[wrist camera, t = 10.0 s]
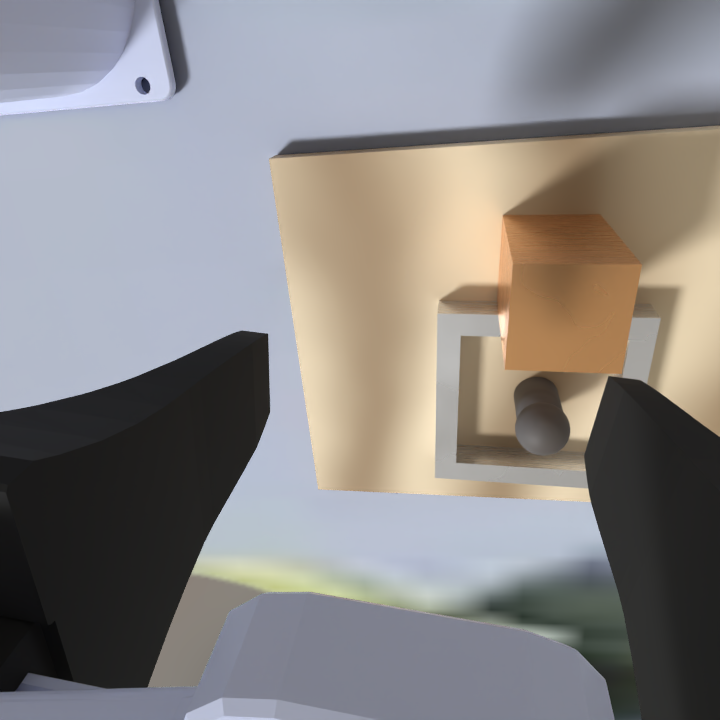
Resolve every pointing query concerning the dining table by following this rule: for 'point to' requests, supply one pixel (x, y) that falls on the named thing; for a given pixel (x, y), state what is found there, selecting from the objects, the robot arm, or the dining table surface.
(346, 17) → the dining table surface
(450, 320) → the square frame with cube
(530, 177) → the board
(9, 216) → the dining table surface
